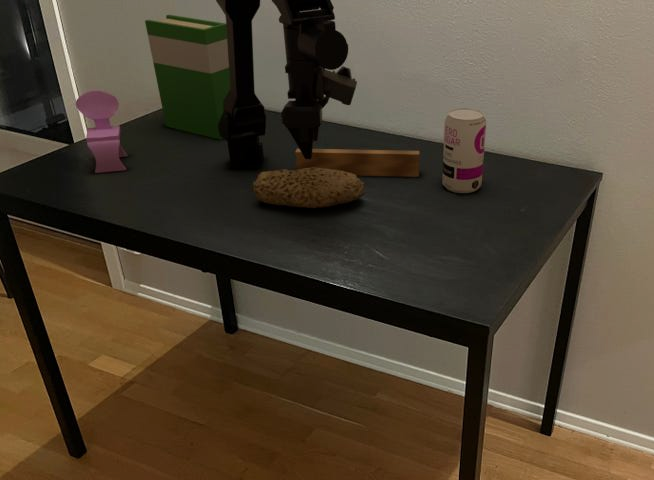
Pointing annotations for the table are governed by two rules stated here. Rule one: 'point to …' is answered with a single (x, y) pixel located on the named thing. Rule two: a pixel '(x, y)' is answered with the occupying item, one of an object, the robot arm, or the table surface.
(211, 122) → the hardback book
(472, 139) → the supplement can
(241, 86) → the robot arm
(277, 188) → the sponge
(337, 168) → the back rail
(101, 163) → the toy chair
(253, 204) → the table surface
